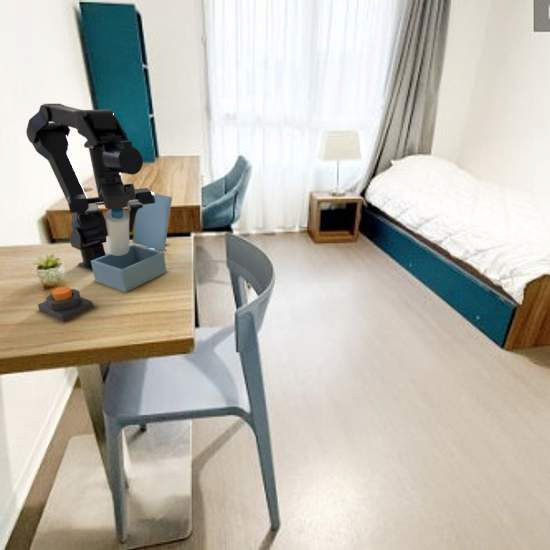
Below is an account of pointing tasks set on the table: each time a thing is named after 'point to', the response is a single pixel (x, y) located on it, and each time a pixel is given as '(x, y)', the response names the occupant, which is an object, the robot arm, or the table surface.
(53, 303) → the control block
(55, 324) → the table surface
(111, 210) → the detergent bottle
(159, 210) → the blue-grey box lid
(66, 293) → the button
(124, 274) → the blue open box
